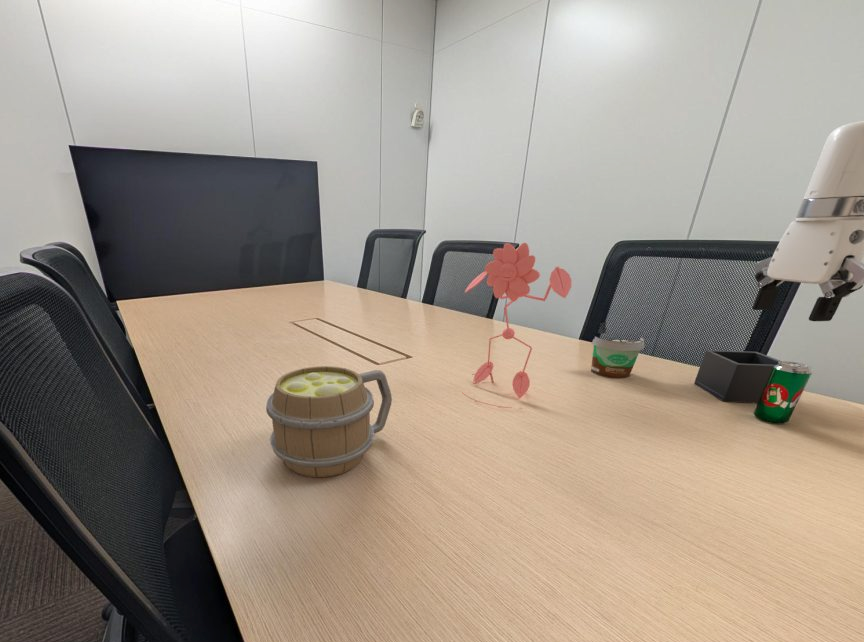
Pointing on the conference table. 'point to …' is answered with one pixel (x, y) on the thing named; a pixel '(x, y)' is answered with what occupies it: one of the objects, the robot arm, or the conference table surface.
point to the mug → (325, 418)
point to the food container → (615, 357)
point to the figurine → (515, 297)
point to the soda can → (782, 392)
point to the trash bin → (735, 375)
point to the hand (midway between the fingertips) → (788, 314)
